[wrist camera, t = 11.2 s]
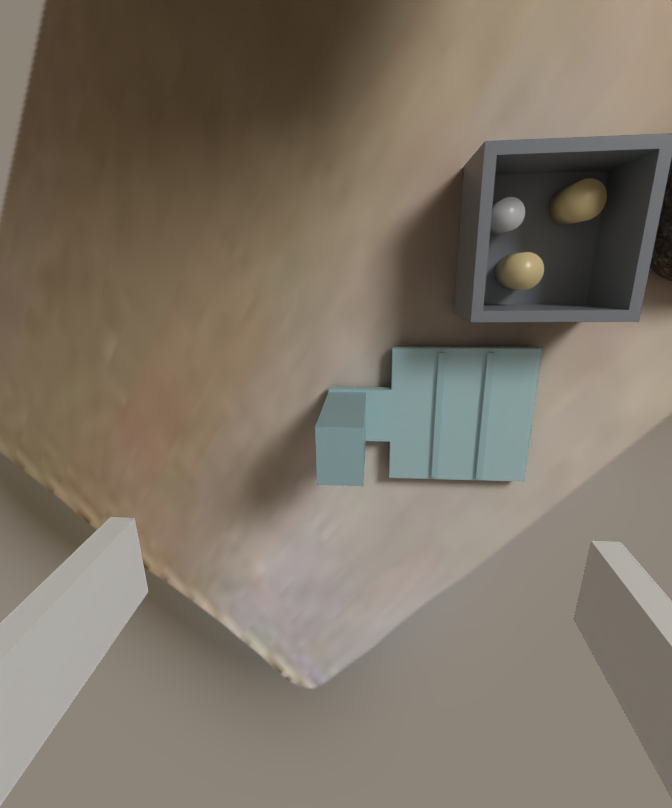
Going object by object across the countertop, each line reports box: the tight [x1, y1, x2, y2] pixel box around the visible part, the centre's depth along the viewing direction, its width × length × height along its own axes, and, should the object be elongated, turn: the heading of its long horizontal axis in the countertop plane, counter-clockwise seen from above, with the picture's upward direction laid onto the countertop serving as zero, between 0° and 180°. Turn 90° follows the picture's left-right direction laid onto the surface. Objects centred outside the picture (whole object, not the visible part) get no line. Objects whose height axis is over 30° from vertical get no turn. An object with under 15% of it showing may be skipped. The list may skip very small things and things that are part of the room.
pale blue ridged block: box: [315, 347, 542, 486], centre depth 30 cm, size 11×16×9 cm
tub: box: [454, 133, 672, 322], centre depth 27 cm, size 10×10×6 cm
